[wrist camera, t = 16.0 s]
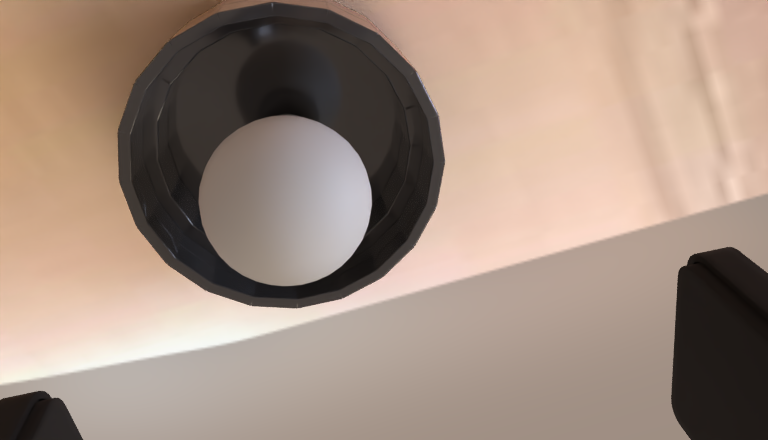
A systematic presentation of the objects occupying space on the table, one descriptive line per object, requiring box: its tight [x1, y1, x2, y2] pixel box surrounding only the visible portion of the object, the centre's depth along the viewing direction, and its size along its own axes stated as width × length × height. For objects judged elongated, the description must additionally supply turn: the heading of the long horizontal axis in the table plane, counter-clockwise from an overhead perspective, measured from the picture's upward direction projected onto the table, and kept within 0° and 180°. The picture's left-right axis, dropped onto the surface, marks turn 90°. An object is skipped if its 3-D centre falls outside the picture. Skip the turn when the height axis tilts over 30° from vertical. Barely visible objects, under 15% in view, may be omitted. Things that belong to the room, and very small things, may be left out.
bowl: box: [118, 0, 445, 308], centre depth 29 cm, size 13×13×6 cm
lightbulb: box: [199, 114, 372, 286], centre depth 25 cm, size 6×6×11 cm
